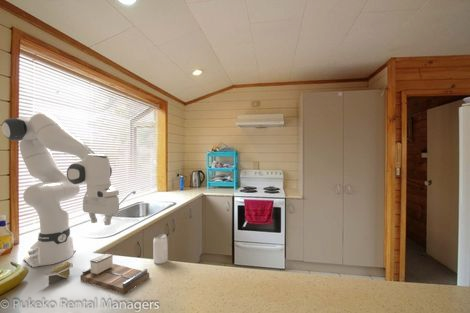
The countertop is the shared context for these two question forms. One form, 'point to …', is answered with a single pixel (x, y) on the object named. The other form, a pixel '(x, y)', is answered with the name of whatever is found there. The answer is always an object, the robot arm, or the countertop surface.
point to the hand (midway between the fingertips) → (100, 223)
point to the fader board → (116, 278)
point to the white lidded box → (101, 263)
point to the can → (160, 249)
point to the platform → (59, 272)
